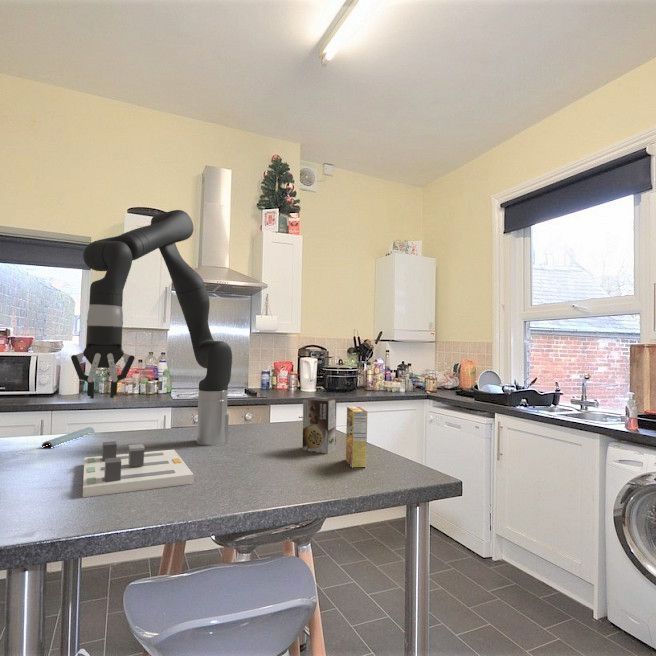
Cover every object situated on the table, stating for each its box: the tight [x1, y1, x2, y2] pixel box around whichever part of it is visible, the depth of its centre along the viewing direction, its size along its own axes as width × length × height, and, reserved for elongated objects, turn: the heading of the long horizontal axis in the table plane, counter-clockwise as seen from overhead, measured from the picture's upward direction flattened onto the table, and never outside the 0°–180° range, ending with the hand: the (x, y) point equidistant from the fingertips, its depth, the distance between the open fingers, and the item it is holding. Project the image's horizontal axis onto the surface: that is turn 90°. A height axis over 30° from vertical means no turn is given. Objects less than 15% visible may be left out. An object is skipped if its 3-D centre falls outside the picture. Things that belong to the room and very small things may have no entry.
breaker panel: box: [82, 440, 194, 498], centre depth 105 cm, size 22×26×6 cm
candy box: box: [345, 406, 368, 469], centre depth 120 cm, size 9×4×15 cm, turn 10°
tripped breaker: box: [128, 443, 146, 467], centre depth 105 cm, size 3×4×4 cm
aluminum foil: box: [41, 426, 95, 448], centre depth 137 cm, size 23×7×3 cm, turn 0°
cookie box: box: [301, 396, 337, 454], centre depth 135 cm, size 9×6×16 cm
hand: (101, 397), depth 102 cm, fingers open, 3 cm apart
